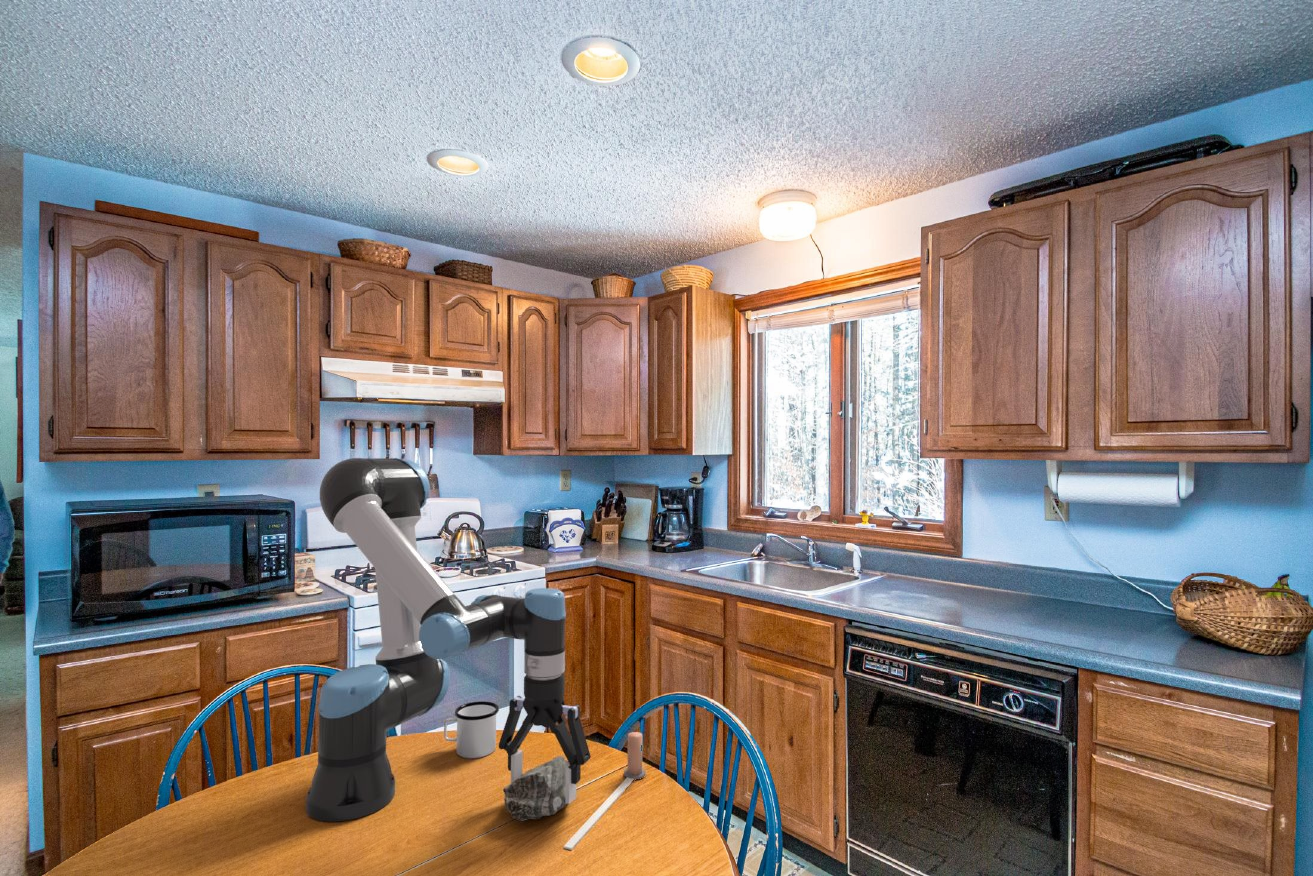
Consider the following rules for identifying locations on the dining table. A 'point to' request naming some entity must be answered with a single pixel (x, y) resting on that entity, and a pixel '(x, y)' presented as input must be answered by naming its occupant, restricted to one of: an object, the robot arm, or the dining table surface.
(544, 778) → the rock
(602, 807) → the crank handle
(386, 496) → the robot arm
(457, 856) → the dining table surface
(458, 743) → the mug
